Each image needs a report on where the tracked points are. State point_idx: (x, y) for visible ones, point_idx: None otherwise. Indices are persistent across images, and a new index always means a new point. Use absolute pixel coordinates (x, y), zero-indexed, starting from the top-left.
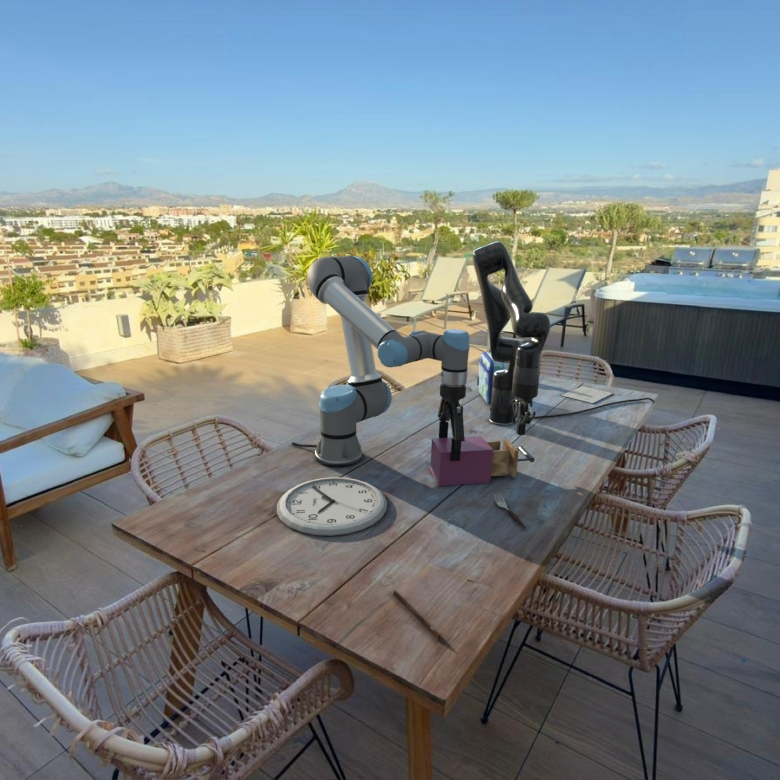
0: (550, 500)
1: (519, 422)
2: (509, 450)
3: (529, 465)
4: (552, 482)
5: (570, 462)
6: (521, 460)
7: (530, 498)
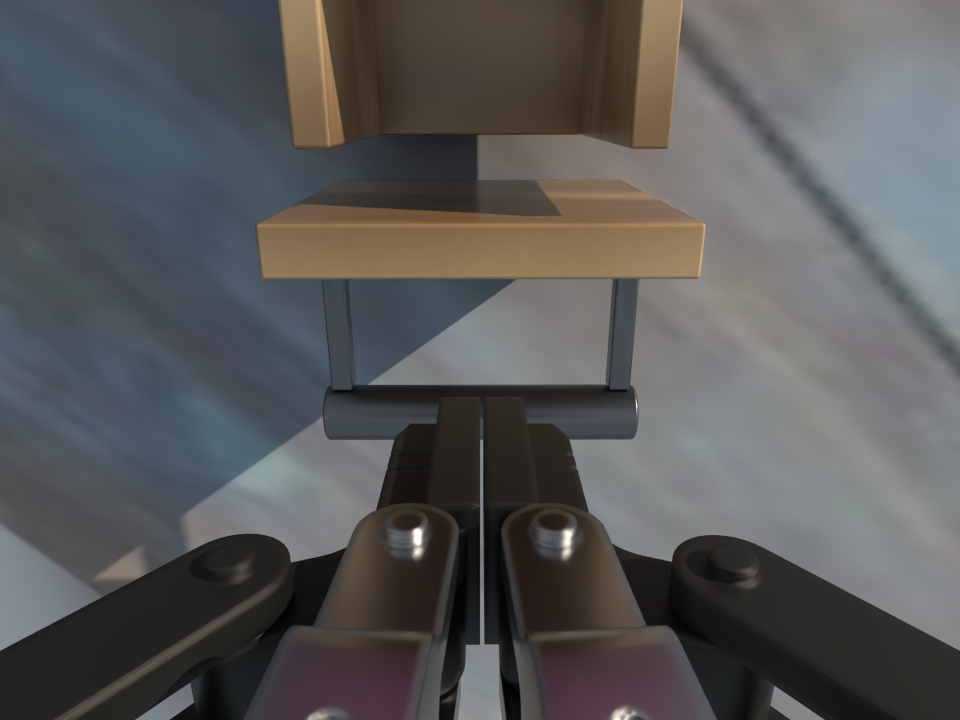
0: (9, 342)
1: (388, 528)
2: (445, 211)
3: None
4: (293, 472)
5: None
6: (325, 298)
7: (25, 203)
